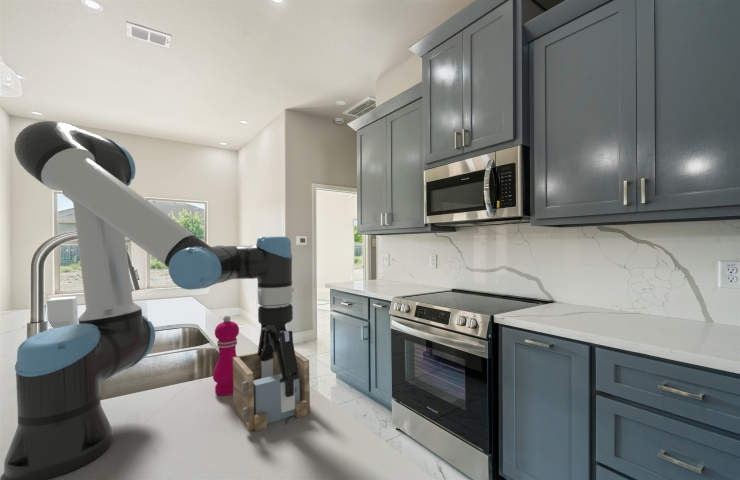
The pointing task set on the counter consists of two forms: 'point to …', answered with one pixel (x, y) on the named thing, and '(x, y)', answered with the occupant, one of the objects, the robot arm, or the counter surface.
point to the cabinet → (250, 370)
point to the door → (272, 398)
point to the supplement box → (62, 311)
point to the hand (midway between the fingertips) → (277, 398)
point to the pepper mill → (225, 356)
